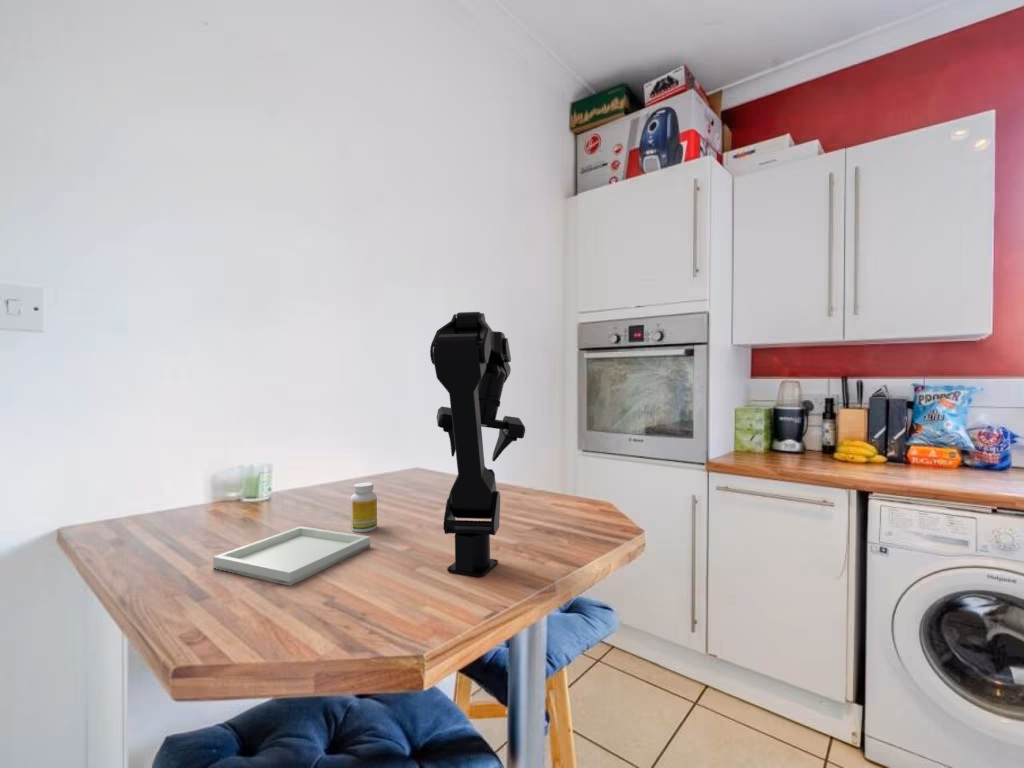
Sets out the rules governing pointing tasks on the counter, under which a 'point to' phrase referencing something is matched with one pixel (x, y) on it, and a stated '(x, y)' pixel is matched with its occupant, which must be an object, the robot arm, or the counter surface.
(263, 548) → the tray
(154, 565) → the counter surface
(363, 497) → the supplement bottle
